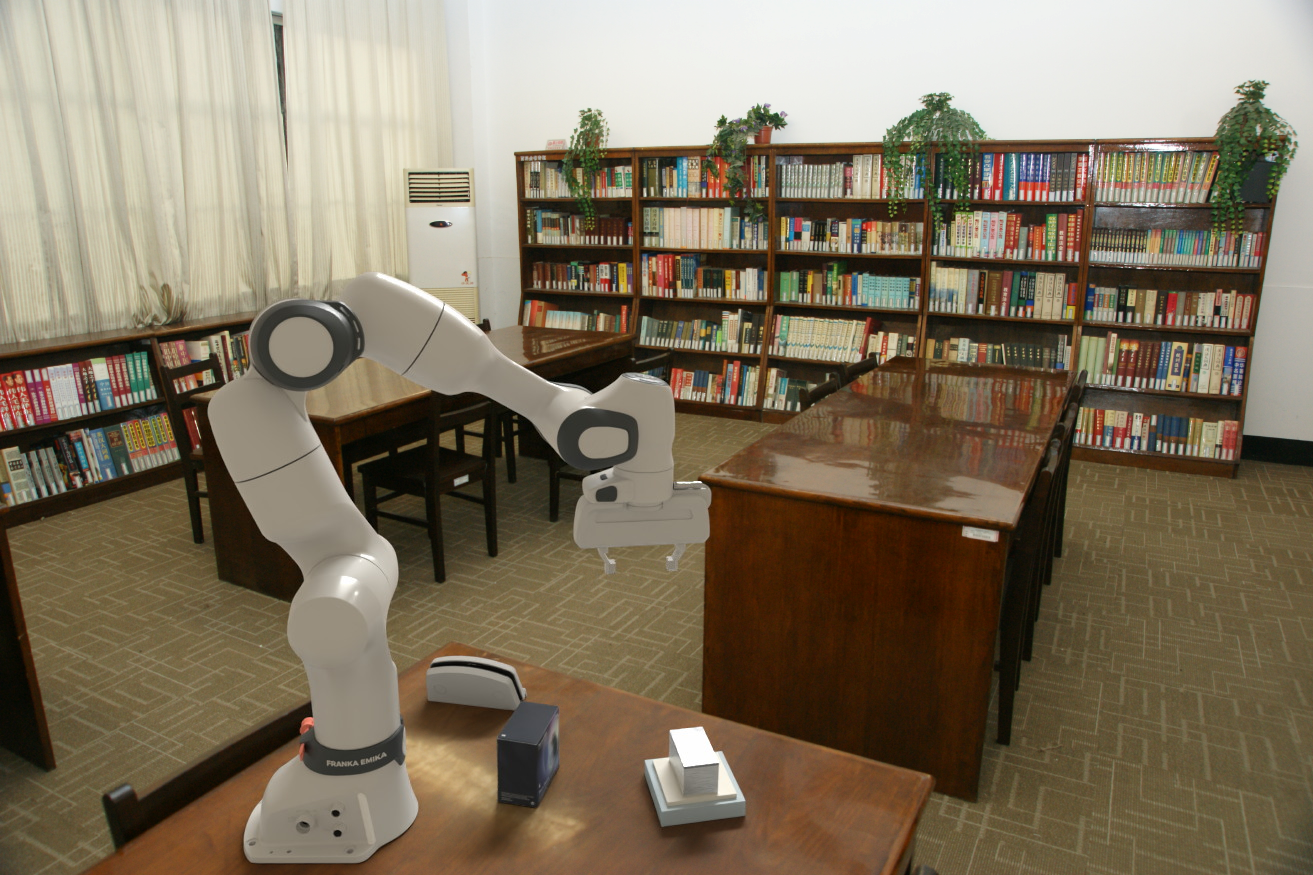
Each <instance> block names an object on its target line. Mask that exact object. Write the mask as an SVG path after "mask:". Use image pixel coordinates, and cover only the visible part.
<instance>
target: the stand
mask: <svg viewBox="0 0 1313 875" xmlns="http://www.w3.org/2000/svg"><path fill="white" fill-rule="evenodd" d="M714 753H715V755H716V757H717V759H718V762H719V777H718V794H712V795H704V796H696V797H688V798H683V796H682V793H681V791H680V788H679V785H678V783H677V780H676V777H675V775H674V772H673V769H672V767H671V764H670V762H669V756H668V757H667V756H666V757H659V758H651V759H650V758H649V759H645V760H644V774H643V775H644V777H645V781H646V782H647V786H648V790H649V792H650V795H651V798H652V801H653V803H654V804H653V805H654V807H655V810H656V813H657V817H658V820H659V824H660V826H661V827H662V828H664V827H670V826H678V825H685V824H691V823H693V824H694V823H700V822H707V821H716V820H721V819H729V818H738V817H745V816H746V804H747V803H746V802H747V801H746V799H745V797H744V794H743V792H742V790H741V788H740V786H739V784H738V782H737V779H736V778H735V776H734V773H733V772H732V769H731V767H730V765H729V763H728V761H727V758H726V757H725V755H724V753H723V751H722V750H721V751H720V750H718V751H714Z"/></svg>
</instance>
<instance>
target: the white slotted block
mask: <svg viewBox="0 0 1313 875" xmlns="http://www.w3.org/2000/svg"><path fill="white" fill-rule="evenodd" d="M425 685H426V695H427V701H430V702H439V703H446V704H447V703H448V704H456V705H464V706H465V705H466V706H472V707H482V708H490V709H498V710H507V711H513V712H514V711H515V710H516V708H517V707H518V705H519V704H520V702H521V701H525V699H526V698H527V697H528V694H527V688H525V687H523V685H522V683H521V681H520V678H519V675H518V672H517V669H516V668H515V667H514V666H512V665H510V664H506V663H504V662H500V661H496V660H494V659H489V658H485V657H478V656H469V655H449V656H439V657H435V658H434V659H433V660H432V661H431V663H429V668H428V669H427V670H426V674H425Z"/></svg>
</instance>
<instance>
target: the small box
mask: <svg viewBox="0 0 1313 875" xmlns="http://www.w3.org/2000/svg"><path fill="white" fill-rule="evenodd" d="M496 767H497V769H496V771H497V772H496V773H497V792H496V793H497V798H496V801H497V803H505V804H512V805H516V806H517V805H518V806H523V807H527V808H528V807H529V808H536V809H537V808H538V807H539V805H540V803H541V802H542V799H543V797H544V795H545V794H546V792H547V789H548V788H549V786H550V784H551V782H552V781H553V779H554V776H555V775H556V774H557V771H558V770H559V767H560V706H559V705H554V704H545V703H541V702H540V703H539V702H538V703H537V702H533V701H532V702H531V701H526V700H522V701H520V704H519V705H518V707H517V708H516V710H515V711H514V710H513V713H512V714H511V716H510V718H509V719H508V721H507V722H506V723H505V725H504V726H503V728H502V730H500V732H499V733H498V735H497V737H496Z"/></svg>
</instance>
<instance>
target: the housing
mask: <svg viewBox="0 0 1313 875" xmlns="http://www.w3.org/2000/svg"><path fill="white" fill-rule="evenodd" d="M668 736H669V740H668V743H669V744H668V757H669V762H670V764H671V767H672V769H673V772H674V775H675V777H676V780H677V783H678V785H679V788H680V791H681V793H682V796H683V798H688V797H696V796H704V795H712V794H718V777H719V762H718V759H717V757H716V755H715V753H714V752H715V751H714V749H713V747H712V746H713V745H711V742H710V740H709V738H708V735H707V734H706V732H705V729H704V727H703V726H696V727H688V728H687V727H686V728H678V729H669V735H668Z"/></svg>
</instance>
